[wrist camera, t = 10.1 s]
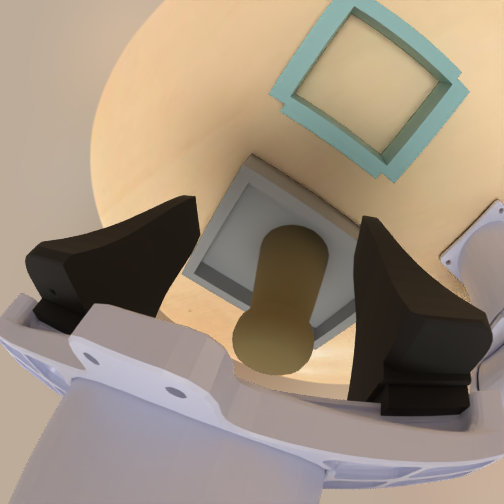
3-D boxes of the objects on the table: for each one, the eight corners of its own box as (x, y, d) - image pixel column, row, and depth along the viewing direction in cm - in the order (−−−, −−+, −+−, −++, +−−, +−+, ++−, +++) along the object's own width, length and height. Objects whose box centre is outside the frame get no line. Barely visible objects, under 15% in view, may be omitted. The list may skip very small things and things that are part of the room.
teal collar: (459, 82, 13) (474, 85, 11) (383, 176, 19) (388, 189, 17) (344, -8, 12) (346, -17, 10) (271, 98, 18) (263, 101, 16)
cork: (290, 290, 28) (264, 392, 19) (246, 247, 26) (200, 348, 17) (342, 262, 24) (336, 374, 16) (298, 211, 22) (270, 319, 14)
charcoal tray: (404, 262, 23) (409, 280, 21) (317, 331, 31) (315, 349, 29) (252, 153, 21) (242, 164, 19) (191, 258, 29) (181, 273, 27)
